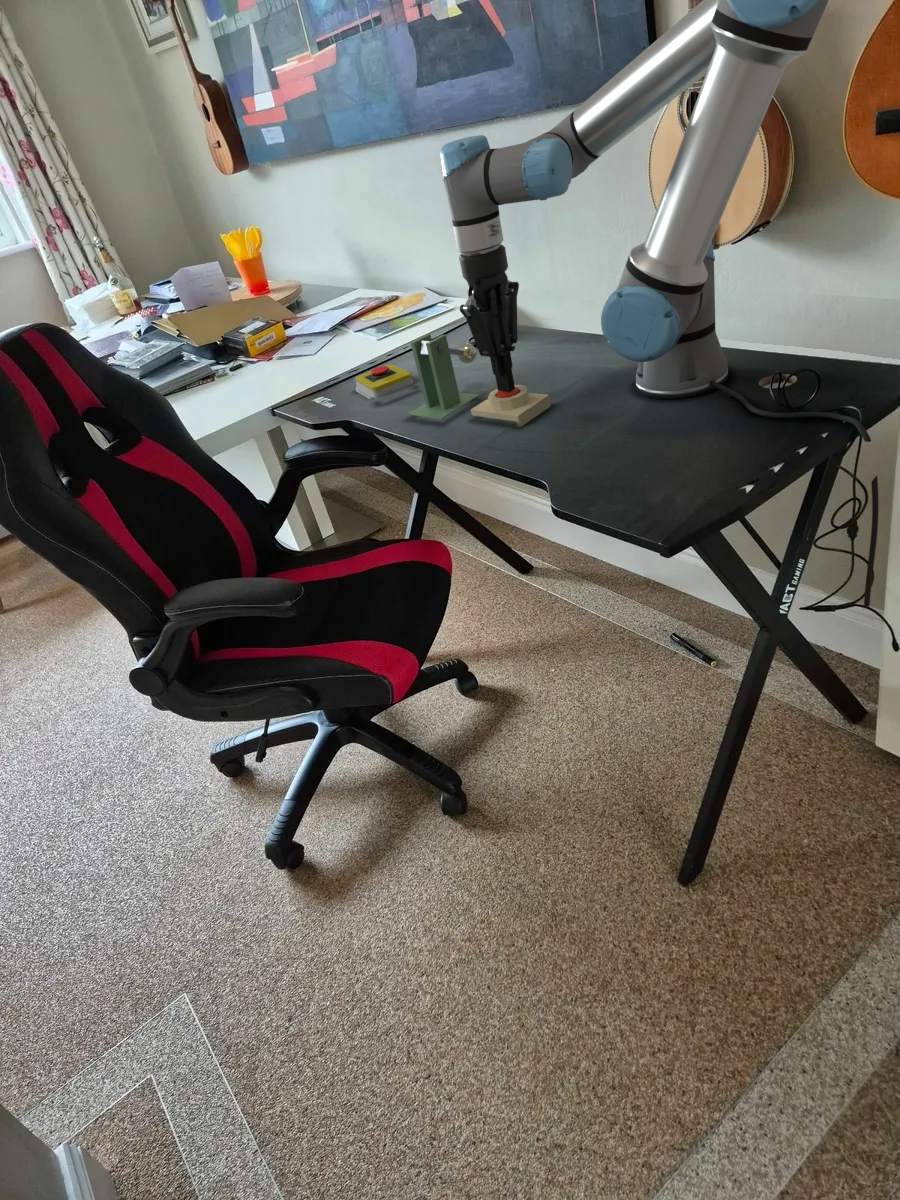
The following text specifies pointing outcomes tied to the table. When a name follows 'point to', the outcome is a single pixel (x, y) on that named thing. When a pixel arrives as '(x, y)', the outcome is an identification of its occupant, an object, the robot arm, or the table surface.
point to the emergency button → (382, 381)
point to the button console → (513, 406)
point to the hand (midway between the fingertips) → (506, 389)
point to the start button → (507, 393)
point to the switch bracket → (437, 379)
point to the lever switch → (456, 352)
